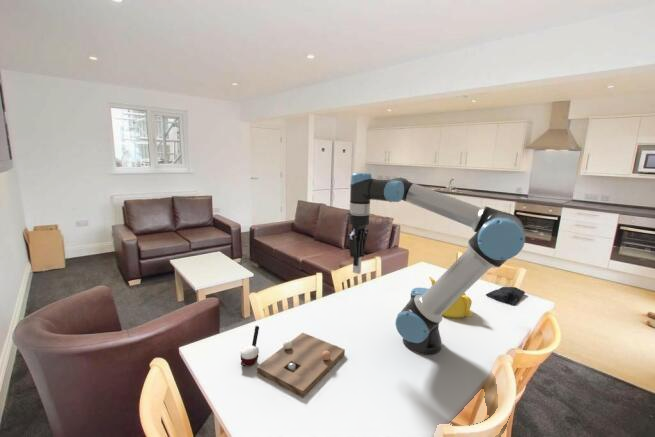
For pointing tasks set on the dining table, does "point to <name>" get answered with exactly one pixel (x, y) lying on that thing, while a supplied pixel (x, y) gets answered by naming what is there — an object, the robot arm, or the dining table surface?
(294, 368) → the ball
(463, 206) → the robot arm
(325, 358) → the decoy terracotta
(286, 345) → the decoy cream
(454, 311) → the teapot
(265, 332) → the dining table surface
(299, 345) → the board
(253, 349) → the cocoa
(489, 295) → the dark slate chunk
